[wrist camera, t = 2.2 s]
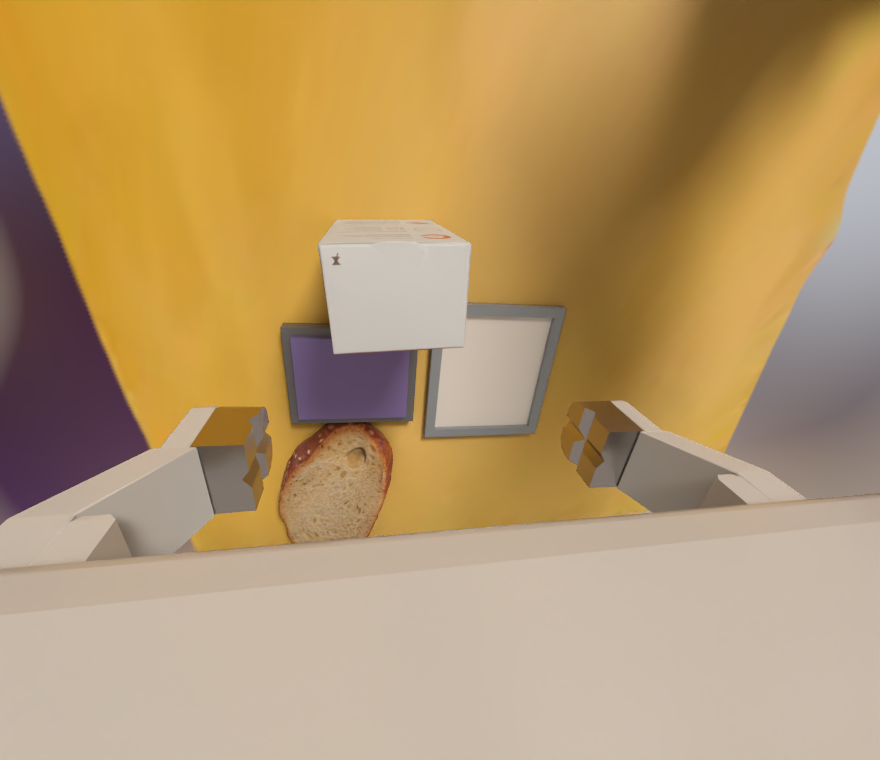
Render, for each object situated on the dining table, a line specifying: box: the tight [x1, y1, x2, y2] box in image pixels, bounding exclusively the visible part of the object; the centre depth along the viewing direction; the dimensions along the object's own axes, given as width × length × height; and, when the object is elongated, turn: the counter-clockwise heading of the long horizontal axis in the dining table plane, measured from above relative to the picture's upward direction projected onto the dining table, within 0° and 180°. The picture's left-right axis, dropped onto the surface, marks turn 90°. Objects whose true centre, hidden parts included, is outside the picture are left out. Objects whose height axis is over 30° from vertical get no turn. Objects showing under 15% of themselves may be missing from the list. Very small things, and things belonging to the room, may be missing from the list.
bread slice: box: [279, 422, 393, 544], centre depth 42 cm, size 18×18×4 cm
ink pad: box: [280, 323, 417, 424], centre depth 35 cm, size 12×10×2 cm
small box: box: [318, 220, 471, 355], centre depth 26 cm, size 8×6×13 cm
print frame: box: [424, 303, 566, 437], centre depth 38 cm, size 13×15×1 cm
